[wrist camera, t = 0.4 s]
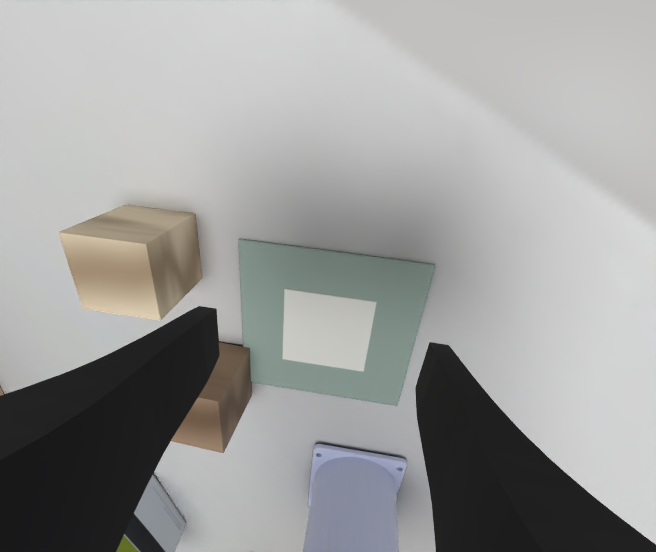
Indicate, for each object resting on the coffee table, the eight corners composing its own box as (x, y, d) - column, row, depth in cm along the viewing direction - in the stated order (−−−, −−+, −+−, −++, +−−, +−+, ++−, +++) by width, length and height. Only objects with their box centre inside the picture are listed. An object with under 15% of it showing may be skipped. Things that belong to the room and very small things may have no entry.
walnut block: (251, 395, 27) (223, 453, 22) (193, 383, 27) (155, 437, 23) (249, 348, 24) (218, 401, 20) (186, 335, 25) (142, 385, 20)
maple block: (202, 277, 22) (160, 320, 18) (139, 268, 23) (82, 308, 18) (195, 213, 20) (146, 244, 16) (126, 204, 20) (58, 232, 16)
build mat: (397, 403, 25) (397, 406, 25) (245, 379, 26) (244, 382, 26) (434, 264, 20) (435, 266, 19) (239, 238, 20) (237, 240, 20)
